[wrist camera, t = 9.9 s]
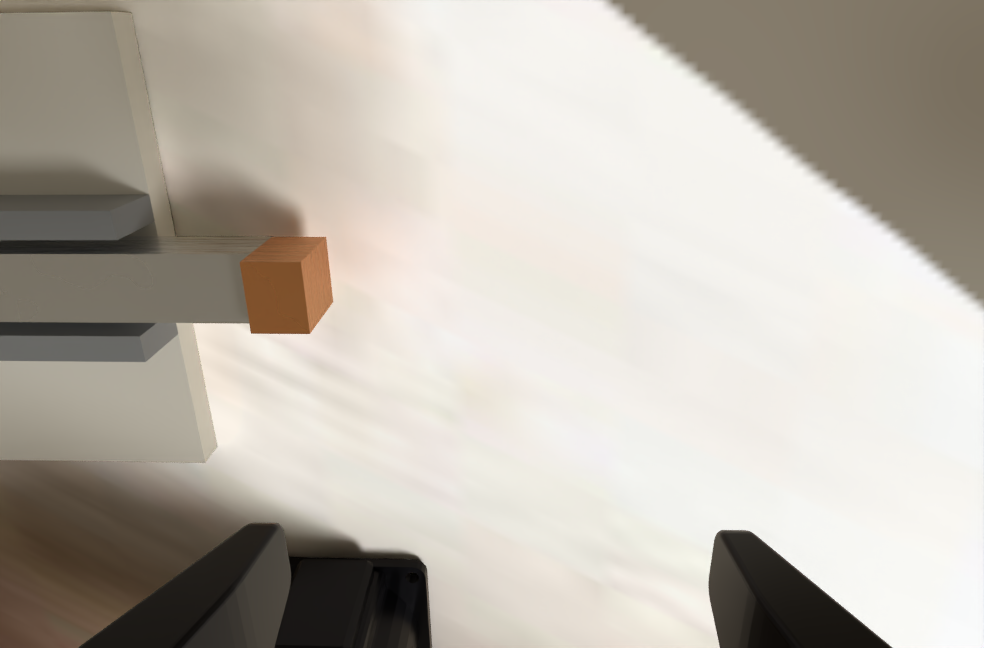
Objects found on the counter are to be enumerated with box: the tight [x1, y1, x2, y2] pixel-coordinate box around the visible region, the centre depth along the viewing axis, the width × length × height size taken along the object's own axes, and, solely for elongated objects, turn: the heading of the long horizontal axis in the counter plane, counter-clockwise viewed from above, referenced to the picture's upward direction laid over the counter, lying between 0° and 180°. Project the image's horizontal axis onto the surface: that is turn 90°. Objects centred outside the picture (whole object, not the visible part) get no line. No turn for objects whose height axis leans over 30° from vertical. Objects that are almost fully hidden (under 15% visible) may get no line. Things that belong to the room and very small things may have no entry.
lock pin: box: [0, 236, 333, 334], centre depth 19 cm, size 2×12×2 cm, turn 91°
